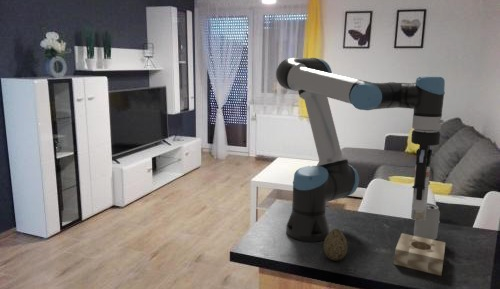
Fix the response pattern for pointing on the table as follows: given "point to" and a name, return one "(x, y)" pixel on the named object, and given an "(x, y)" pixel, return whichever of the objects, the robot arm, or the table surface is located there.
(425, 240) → the collar
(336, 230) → the decorative egg
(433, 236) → the can
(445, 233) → the table surface
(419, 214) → the tube
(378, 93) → the robot arm
